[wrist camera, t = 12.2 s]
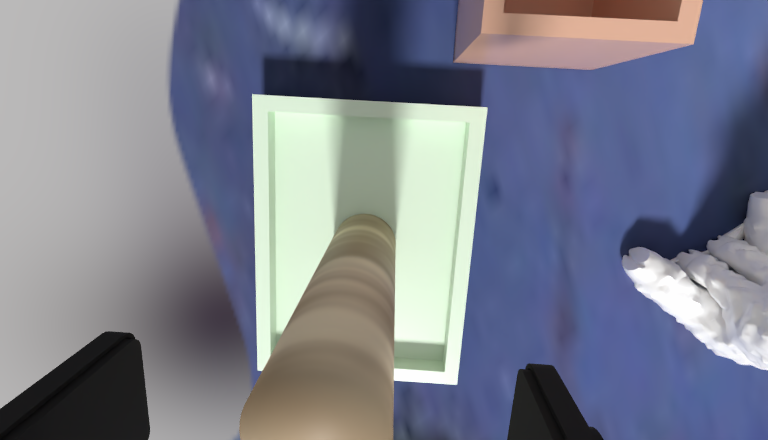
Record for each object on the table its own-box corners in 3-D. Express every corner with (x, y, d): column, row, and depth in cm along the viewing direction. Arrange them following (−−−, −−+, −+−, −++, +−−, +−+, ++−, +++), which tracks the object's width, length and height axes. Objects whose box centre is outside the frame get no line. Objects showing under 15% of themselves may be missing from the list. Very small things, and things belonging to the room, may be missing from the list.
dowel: (334, 211, 24) (236, 362, 9) (397, 215, 24) (397, 372, 9) (333, 270, 25) (241, 491, 10) (393, 274, 25) (388, 502, 10)
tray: (264, 96, 23) (252, 94, 21) (480, 108, 23) (487, 107, 21) (267, 352, 27) (257, 370, 25) (452, 365, 27) (456, 384, 25)
